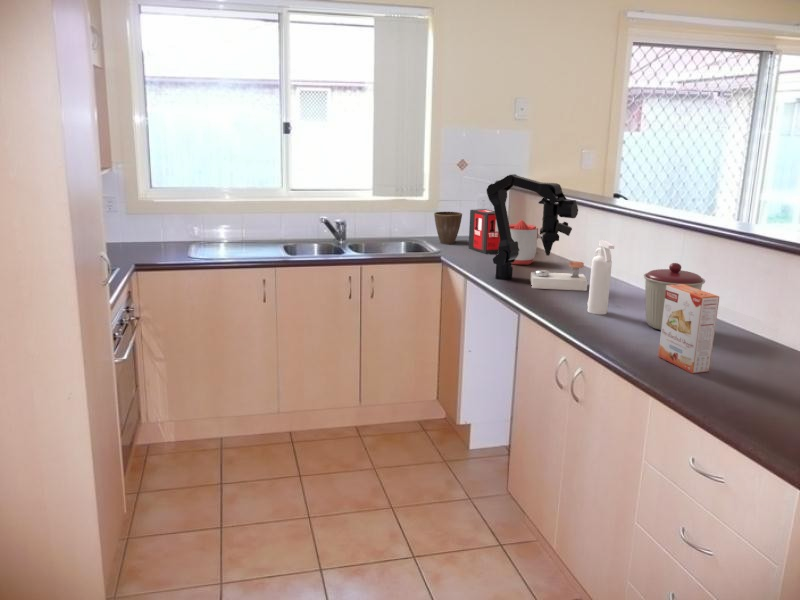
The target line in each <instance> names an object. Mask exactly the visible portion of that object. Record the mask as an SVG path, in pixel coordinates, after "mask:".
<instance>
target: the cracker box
mask: <svg viewBox="0 0 800 600" xmlns="http://www.w3.org/2000/svg"><path fill="white" fill-rule="evenodd" d="M719 303H720V296H719V295H717V294H713V293H710V292H707V291H705V290H702V289H701V290H699V289H696V288H693V287H690V286H687V285H684V284H677V285H666V293H665V302H664V311H663V319H662V328H661V330H660V337H659V338H660V339H659V347H658V357H657V358H660V359H662V360H664V361H667V362H668V363H670V364H672V365H675V366H676V367H678V368H680V369H682V370H684V371H686V372H688V373H690V374H701V373H709V372H710V370H711V362H712V355H713V347H714V346H713V345H714V339H715V334H716V333H715V332H716V325H717V319H718V318H717V317H718V312H719V311H718V310H719Z"/></svg>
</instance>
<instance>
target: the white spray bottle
mask: <svg viewBox="0 0 800 600" xmlns="http://www.w3.org/2000/svg"><path fill="white" fill-rule="evenodd" d="M598 246H599V247H597V248H596V249H595V251H594V257H593V258H592V260H591V267H590V277H589V289H588V290H589V291H588V299H587V303H586V305H587V311H586V312H588V313H589V314H593V315H606V314H607V313H608V307H609V298H610V297H609V296H610V287H611V285H610V284H611V277H612V276H611V275H612V264H613V261H612V253H611V250H615V245H614V244H612V243H611V242H609V241H608V240H605V239H599V241H598ZM598 252H599V254H598Z"/></svg>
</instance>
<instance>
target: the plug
mask: <svg viewBox="0 0 800 600" xmlns="http://www.w3.org/2000/svg"><path fill="white" fill-rule="evenodd" d="M534 272H535V275H536V276H540V277H547V276H549V273H550V270H547V269H536V270H535V271H534Z"/></svg>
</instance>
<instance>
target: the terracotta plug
mask: <svg viewBox="0 0 800 600" xmlns="http://www.w3.org/2000/svg"><path fill="white" fill-rule="evenodd" d="M584 264H585V263H584V262H583V261H577V260H572V261H571V260H570V261H568V267H570V268H572V273H571V274H572V276H579V274H580V269H582V268H584V266H585V265H584Z"/></svg>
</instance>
